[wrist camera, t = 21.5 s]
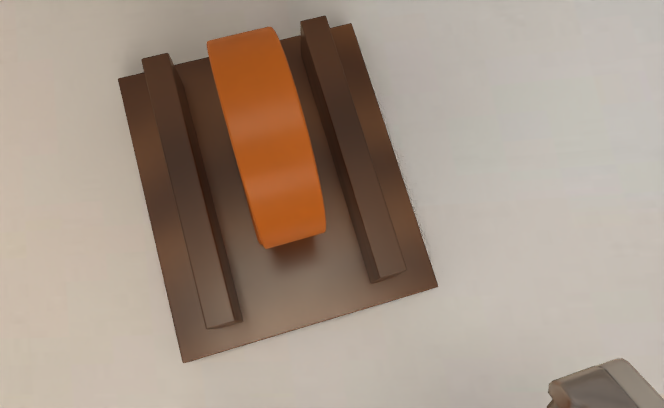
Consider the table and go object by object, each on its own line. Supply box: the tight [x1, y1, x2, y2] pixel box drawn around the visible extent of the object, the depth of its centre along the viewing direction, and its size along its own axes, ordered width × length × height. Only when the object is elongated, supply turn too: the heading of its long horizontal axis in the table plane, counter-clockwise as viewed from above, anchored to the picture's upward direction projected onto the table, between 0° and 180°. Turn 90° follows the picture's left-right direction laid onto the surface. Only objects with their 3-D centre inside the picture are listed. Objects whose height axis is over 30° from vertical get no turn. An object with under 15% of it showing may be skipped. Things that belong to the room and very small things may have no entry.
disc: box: [207, 27, 326, 249], centre depth 21 cm, size 3×8×9 cm, turn 16°
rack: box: [118, 16, 438, 363], centre depth 25 cm, size 14×12×4 cm
